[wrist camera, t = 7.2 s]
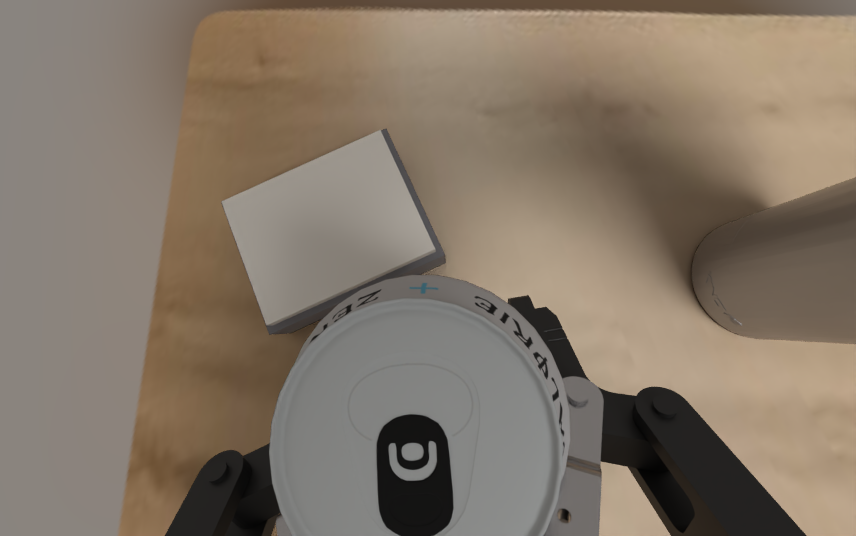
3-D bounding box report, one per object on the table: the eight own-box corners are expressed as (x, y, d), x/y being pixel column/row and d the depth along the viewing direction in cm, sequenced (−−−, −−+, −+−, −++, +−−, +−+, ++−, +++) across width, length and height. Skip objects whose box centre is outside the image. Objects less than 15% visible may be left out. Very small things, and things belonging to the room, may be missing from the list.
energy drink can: (493, 298, 21) (576, 247, 6) (504, 408, 20) (632, 656, 5) (389, 306, 21) (234, 276, 7) (395, 414, 21) (233, 659, 6)
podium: (393, 149, 32) (383, 121, 27) (445, 262, 30) (444, 252, 26) (246, 215, 32) (213, 198, 27) (290, 333, 30) (262, 334, 26)
